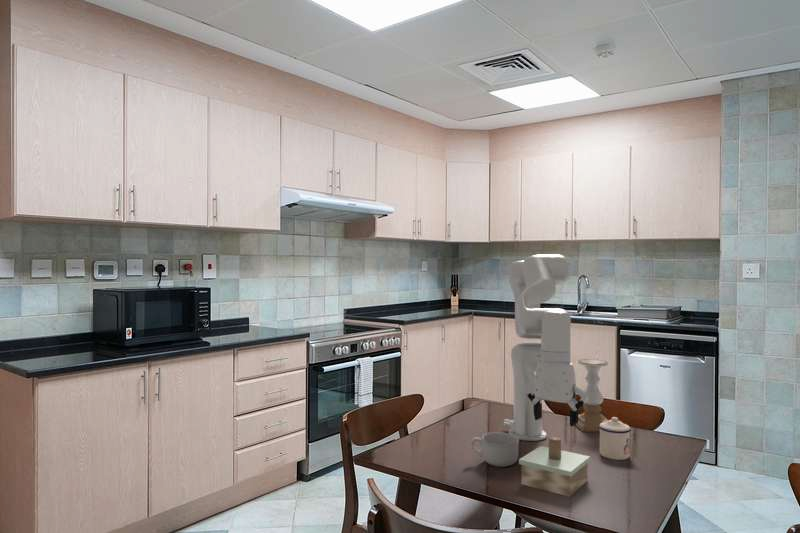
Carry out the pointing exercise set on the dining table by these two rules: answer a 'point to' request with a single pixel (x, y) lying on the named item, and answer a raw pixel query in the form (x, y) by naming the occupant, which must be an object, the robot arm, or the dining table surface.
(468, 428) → the dining table surface
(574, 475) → the box
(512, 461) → the teacup
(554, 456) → the lid
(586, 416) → the candle holder
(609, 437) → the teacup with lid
